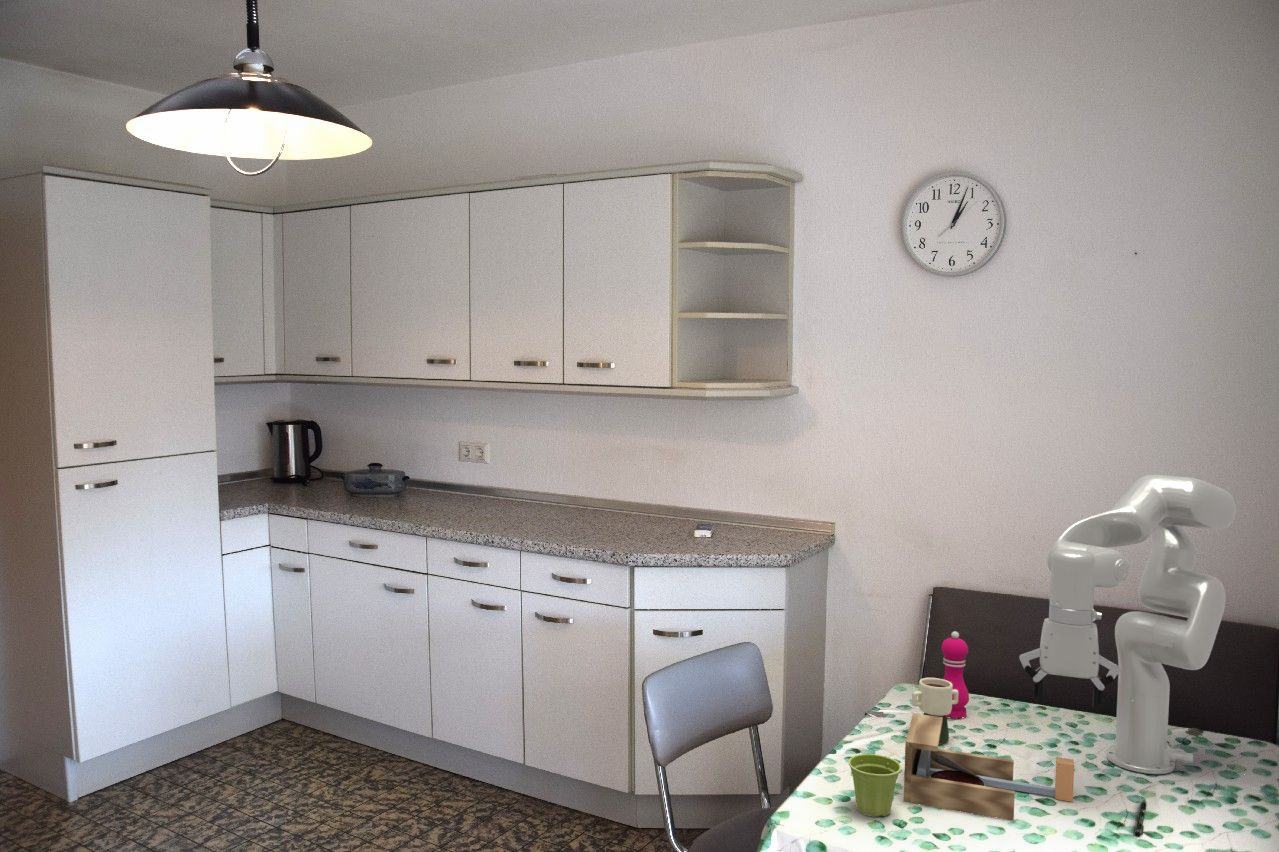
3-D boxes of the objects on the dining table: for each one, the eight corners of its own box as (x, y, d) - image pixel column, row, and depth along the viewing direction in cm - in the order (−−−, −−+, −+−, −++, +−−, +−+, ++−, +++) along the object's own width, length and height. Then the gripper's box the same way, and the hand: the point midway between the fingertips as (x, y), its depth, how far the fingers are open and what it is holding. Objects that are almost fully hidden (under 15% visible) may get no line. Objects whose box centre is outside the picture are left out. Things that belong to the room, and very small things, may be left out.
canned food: (928, 812, 183) (919, 758, 187) (981, 808, 183) (970, 754, 187) (941, 808, 173) (931, 751, 177) (997, 804, 172) (985, 747, 177)
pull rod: (1071, 795, 180) (1073, 759, 180) (1077, 826, 167) (1078, 788, 167) (922, 771, 190) (923, 737, 190) (916, 799, 177) (917, 762, 177)
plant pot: (890, 827, 166) (892, 779, 166) (839, 813, 171) (841, 766, 171) (906, 807, 174) (907, 761, 174) (856, 794, 179) (858, 749, 179)
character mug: (948, 733, 212) (950, 676, 211) (964, 745, 205) (967, 686, 204) (903, 735, 210) (905, 678, 209) (918, 748, 203) (920, 688, 202)
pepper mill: (970, 721, 219) (973, 636, 218) (938, 718, 221) (941, 634, 220) (966, 710, 227) (969, 628, 226) (934, 708, 228) (937, 626, 227)
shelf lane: (1012, 785, 185) (1015, 727, 184) (1013, 820, 169) (1016, 758, 169) (911, 768, 192) (913, 713, 191) (903, 801, 176) (905, 741, 176)
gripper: (1119, 616, 178) (1115, 705, 179) (1021, 606, 184) (1017, 692, 185) (1124, 625, 171) (1120, 718, 172) (1021, 615, 177) (1018, 704, 178)
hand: (1066, 704), depth 178 cm, fingers open, 9 cm apart
